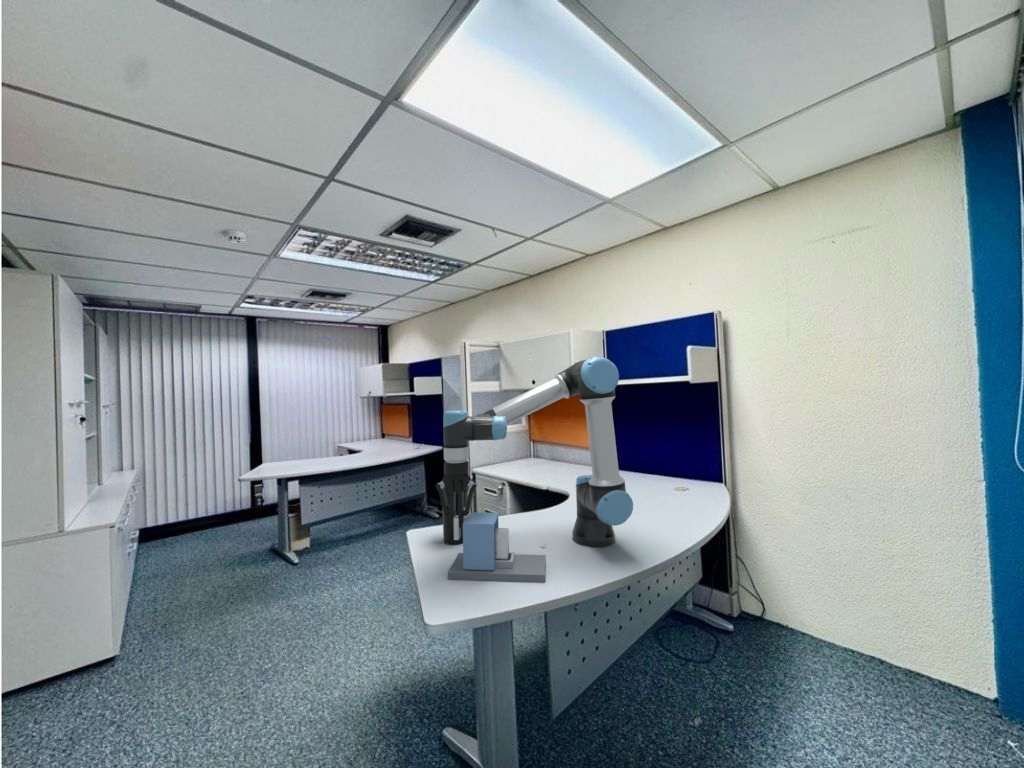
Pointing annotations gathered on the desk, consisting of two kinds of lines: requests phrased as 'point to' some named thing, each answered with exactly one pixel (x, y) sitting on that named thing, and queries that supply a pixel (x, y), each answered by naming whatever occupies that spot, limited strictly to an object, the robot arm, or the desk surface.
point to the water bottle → (447, 529)
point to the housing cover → (479, 541)
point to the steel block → (501, 544)
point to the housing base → (504, 569)
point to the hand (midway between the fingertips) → (457, 538)
